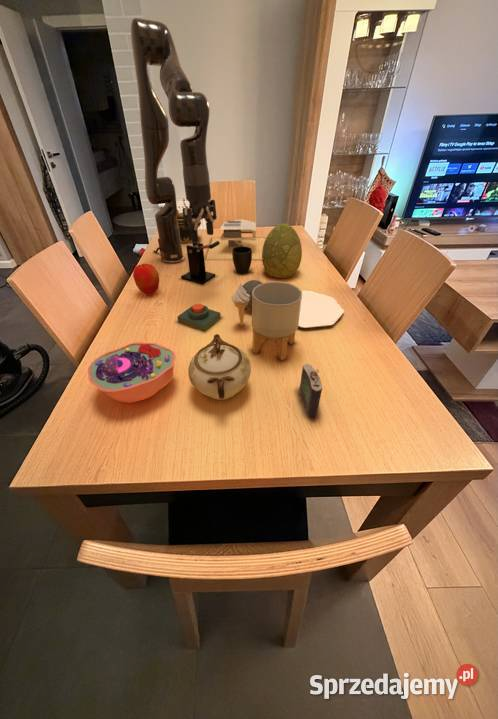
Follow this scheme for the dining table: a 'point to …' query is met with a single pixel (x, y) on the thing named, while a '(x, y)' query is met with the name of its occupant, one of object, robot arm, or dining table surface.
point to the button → (198, 308)
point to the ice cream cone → (241, 301)
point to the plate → (318, 310)
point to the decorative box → (184, 232)
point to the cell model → (133, 371)
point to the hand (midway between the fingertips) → (202, 238)
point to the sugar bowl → (219, 369)
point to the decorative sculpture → (282, 252)
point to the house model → (236, 240)
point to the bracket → (196, 266)
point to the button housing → (199, 318)
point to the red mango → (146, 278)
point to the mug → (242, 259)
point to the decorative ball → (250, 290)
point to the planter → (275, 314)
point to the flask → (310, 390)
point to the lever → (207, 246)
